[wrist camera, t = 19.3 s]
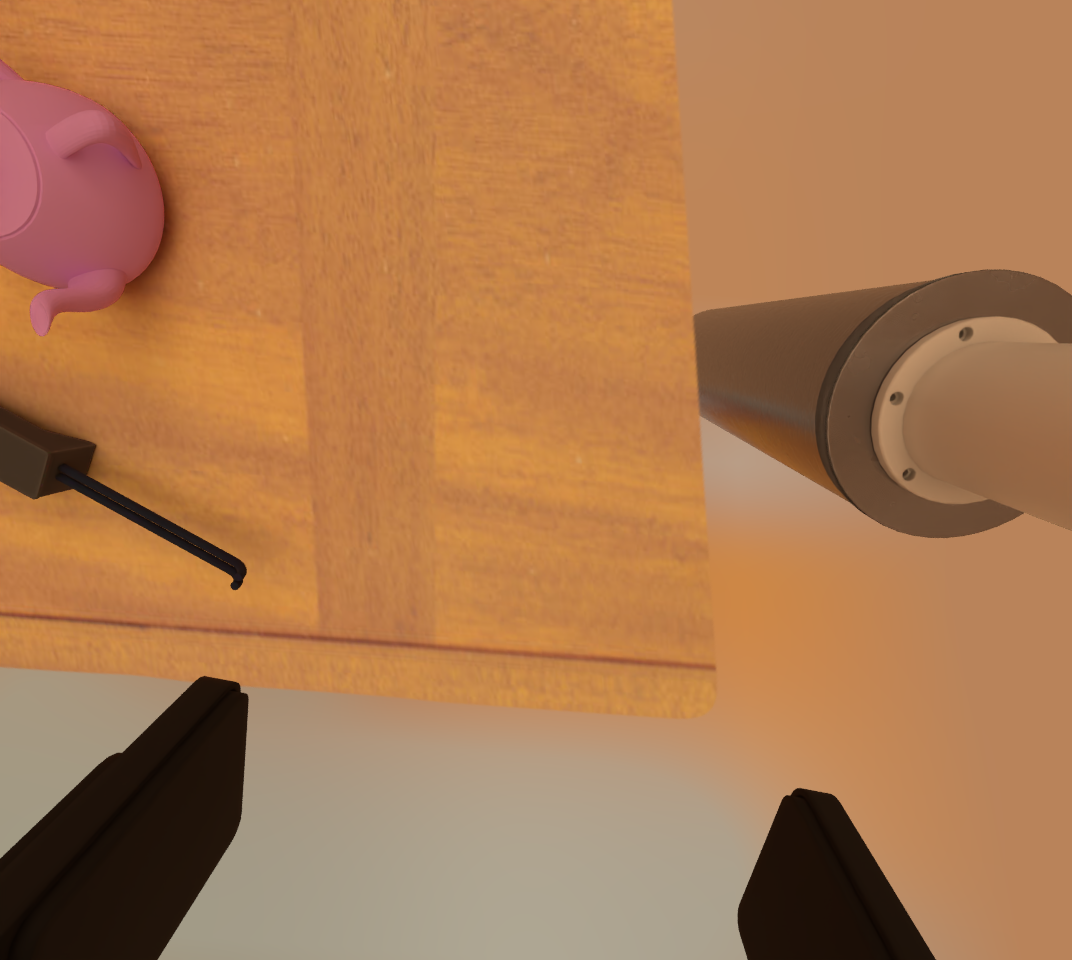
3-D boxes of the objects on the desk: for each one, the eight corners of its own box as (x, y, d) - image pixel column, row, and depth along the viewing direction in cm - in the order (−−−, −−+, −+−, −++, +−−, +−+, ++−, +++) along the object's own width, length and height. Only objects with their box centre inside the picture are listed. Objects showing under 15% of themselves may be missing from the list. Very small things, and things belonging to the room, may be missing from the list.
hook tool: (-88, 393, 40) (262, 585, 40) (-154, 396, 37) (230, 607, 37) (-79, 347, 39) (280, 544, 39) (-146, 346, 36) (248, 563, 36)
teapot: (157, 336, 37) (40, 338, 29) (-39, 227, 36) (-225, 195, 27) (219, 169, 34) (107, 116, 26) (7, 43, 33) (-186, -59, 24)
